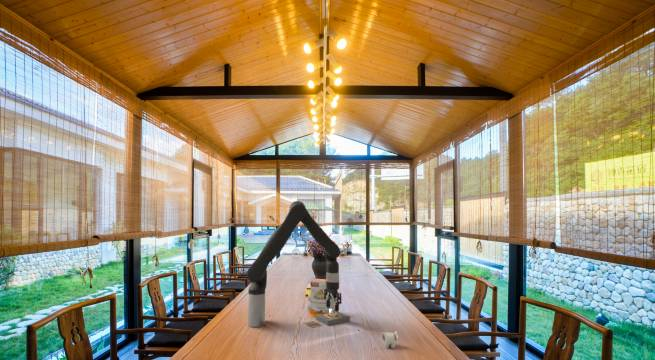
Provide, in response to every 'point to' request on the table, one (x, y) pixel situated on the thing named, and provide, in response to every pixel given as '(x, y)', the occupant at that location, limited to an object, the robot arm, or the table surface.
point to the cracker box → (319, 297)
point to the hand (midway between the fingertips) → (332, 309)
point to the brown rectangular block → (313, 324)
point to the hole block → (334, 320)
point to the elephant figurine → (389, 339)
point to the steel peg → (332, 312)
